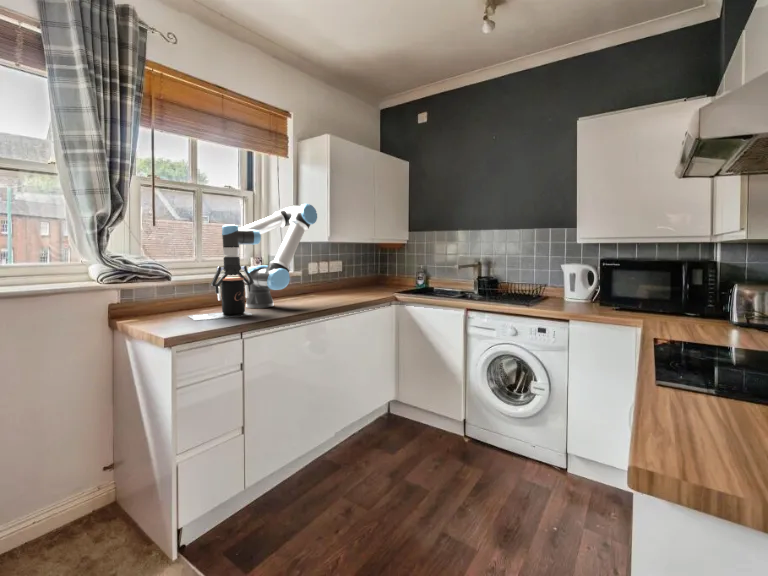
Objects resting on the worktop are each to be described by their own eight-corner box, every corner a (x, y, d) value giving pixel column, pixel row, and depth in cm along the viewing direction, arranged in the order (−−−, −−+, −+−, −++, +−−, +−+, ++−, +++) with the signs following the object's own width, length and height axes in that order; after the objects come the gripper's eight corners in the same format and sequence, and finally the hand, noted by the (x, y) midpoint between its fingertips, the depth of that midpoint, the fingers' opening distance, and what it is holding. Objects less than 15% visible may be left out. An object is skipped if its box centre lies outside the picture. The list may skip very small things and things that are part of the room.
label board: (241, 311, 205) (241, 310, 205) (252, 315, 192) (252, 314, 192) (187, 316, 189) (187, 315, 189) (195, 320, 176) (195, 320, 176)
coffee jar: (237, 315, 188) (236, 278, 187) (217, 315, 191) (216, 278, 189) (249, 312, 199) (248, 277, 197) (230, 311, 201) (229, 277, 199)
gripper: (253, 255, 203) (255, 296, 205) (202, 256, 187) (205, 300, 189) (259, 256, 197) (260, 297, 199) (206, 257, 181) (209, 302, 184)
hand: (233, 299), depth 194 cm, fingers open, 13 cm apart
